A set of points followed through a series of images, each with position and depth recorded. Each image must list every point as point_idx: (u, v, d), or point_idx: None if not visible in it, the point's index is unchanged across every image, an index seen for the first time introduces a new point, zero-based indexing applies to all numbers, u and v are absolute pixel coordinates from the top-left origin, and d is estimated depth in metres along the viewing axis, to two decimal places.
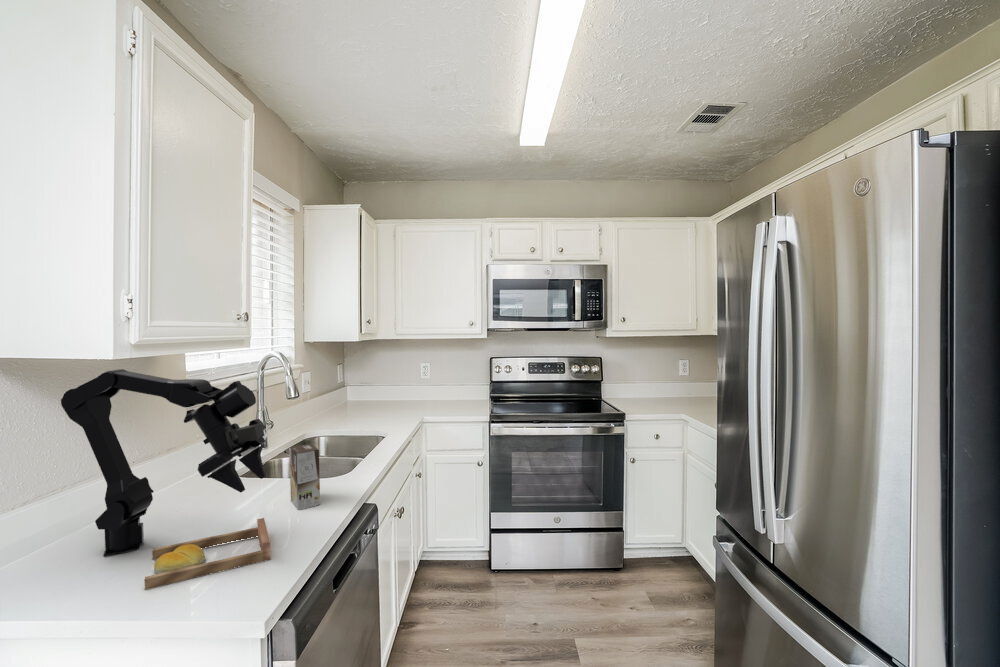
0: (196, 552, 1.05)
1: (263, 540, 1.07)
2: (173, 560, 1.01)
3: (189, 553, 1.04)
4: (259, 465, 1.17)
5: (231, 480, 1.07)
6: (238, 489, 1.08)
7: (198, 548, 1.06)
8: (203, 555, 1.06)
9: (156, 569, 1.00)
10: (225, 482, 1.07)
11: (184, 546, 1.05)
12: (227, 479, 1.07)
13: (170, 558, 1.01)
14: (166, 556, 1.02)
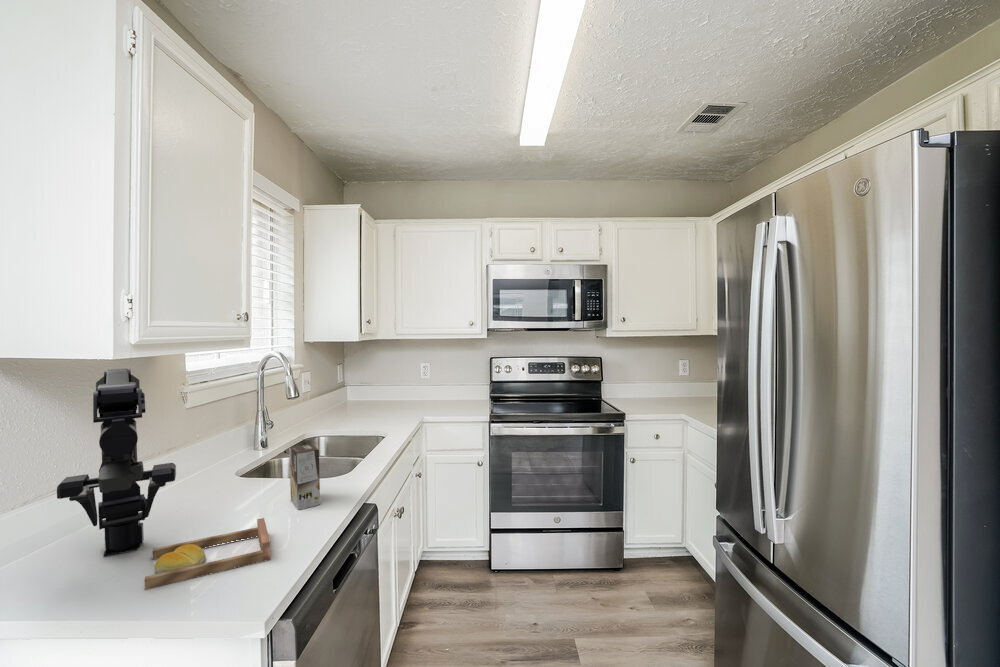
0: (197, 552, 1.05)
1: (263, 540, 1.07)
2: (173, 560, 1.01)
3: (189, 553, 1.04)
4: (147, 503, 1.01)
5: None
6: None
7: (198, 548, 1.06)
8: (203, 555, 1.06)
9: (156, 569, 1.00)
10: None
11: (184, 546, 1.05)
12: None
13: (170, 558, 1.01)
14: (167, 556, 1.02)
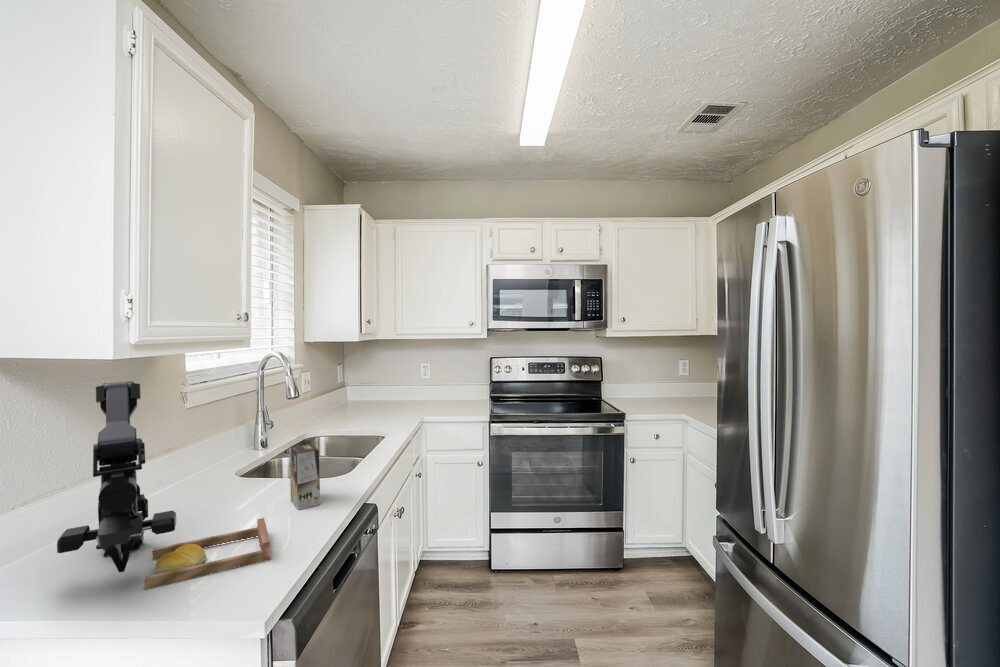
0: (197, 552, 1.05)
1: (263, 540, 1.07)
2: (174, 559, 1.01)
3: (190, 553, 1.04)
4: (123, 558, 0.99)
5: None
6: None
7: (199, 548, 1.06)
8: (204, 555, 1.06)
9: (157, 569, 1.00)
10: None
11: (185, 546, 1.05)
12: None
13: (171, 558, 1.01)
14: (167, 556, 1.02)
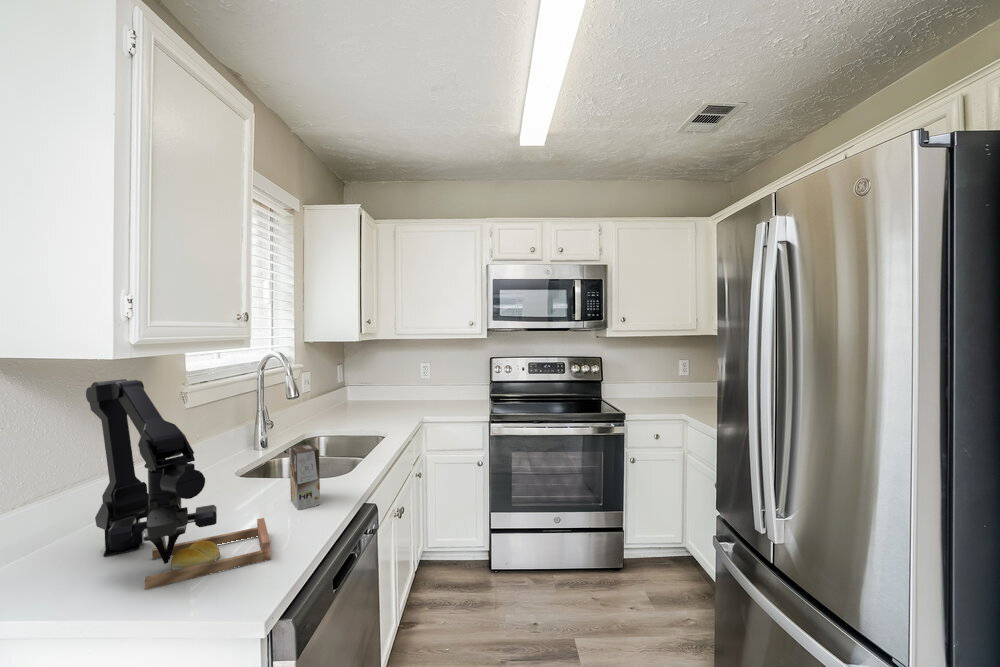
0: (212, 549, 1.06)
1: (263, 540, 1.07)
2: (189, 556, 1.02)
3: (204, 549, 1.05)
4: (167, 550, 1.02)
5: None
6: None
7: (213, 545, 1.07)
8: (218, 552, 1.07)
9: (172, 565, 1.02)
10: None
11: (200, 542, 1.07)
12: None
13: (186, 555, 1.02)
14: (182, 552, 1.03)
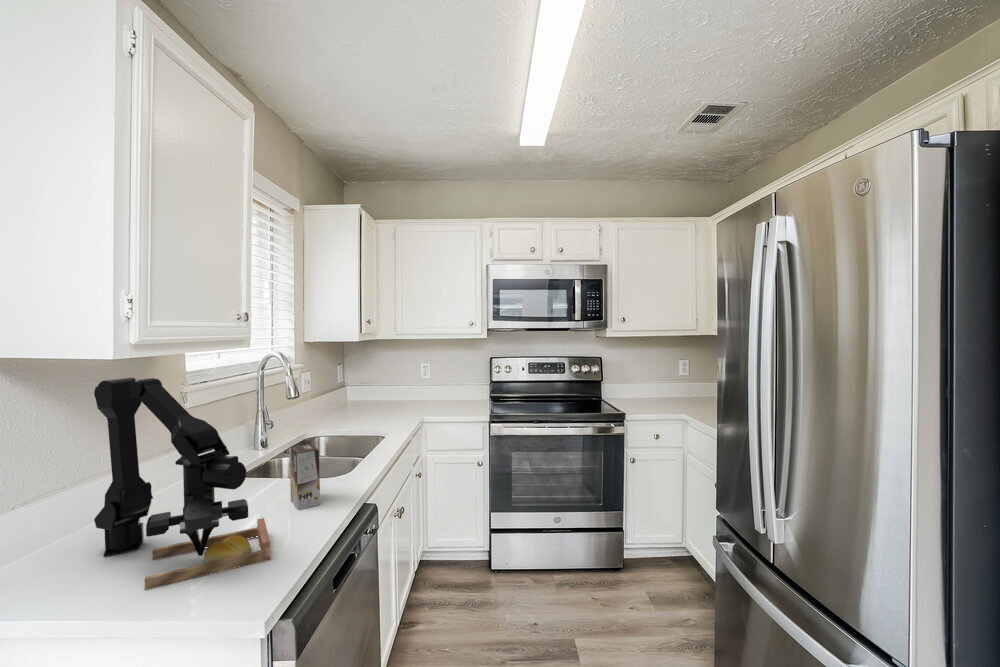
0: (242, 544, 1.08)
1: (263, 540, 1.07)
2: (220, 550, 1.05)
3: (235, 544, 1.08)
4: (202, 542, 1.06)
5: None
6: (197, 551, 1.06)
7: (244, 540, 1.10)
8: (249, 547, 1.09)
9: (205, 558, 1.05)
10: None
11: (232, 537, 1.10)
12: None
13: (217, 549, 1.05)
14: (215, 546, 1.06)
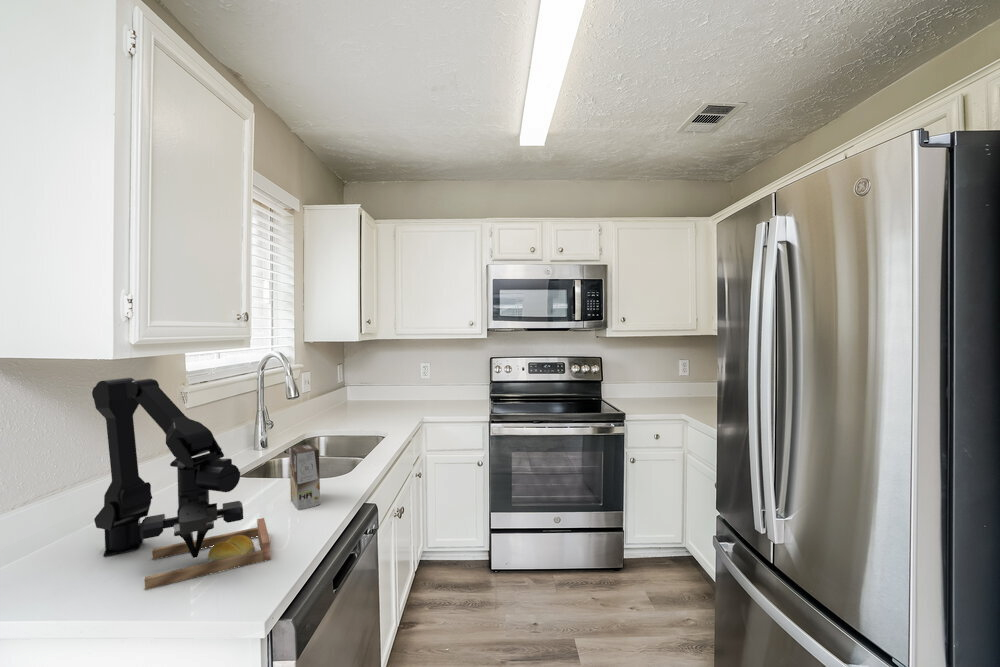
0: (246, 544, 1.08)
1: (263, 540, 1.07)
2: (224, 550, 1.05)
3: (239, 544, 1.08)
4: (196, 544, 1.05)
5: None
6: None
7: (248, 540, 1.10)
8: (252, 547, 1.09)
9: (209, 557, 1.05)
10: None
11: (236, 537, 1.10)
12: None
13: (221, 548, 1.05)
14: (218, 545, 1.06)
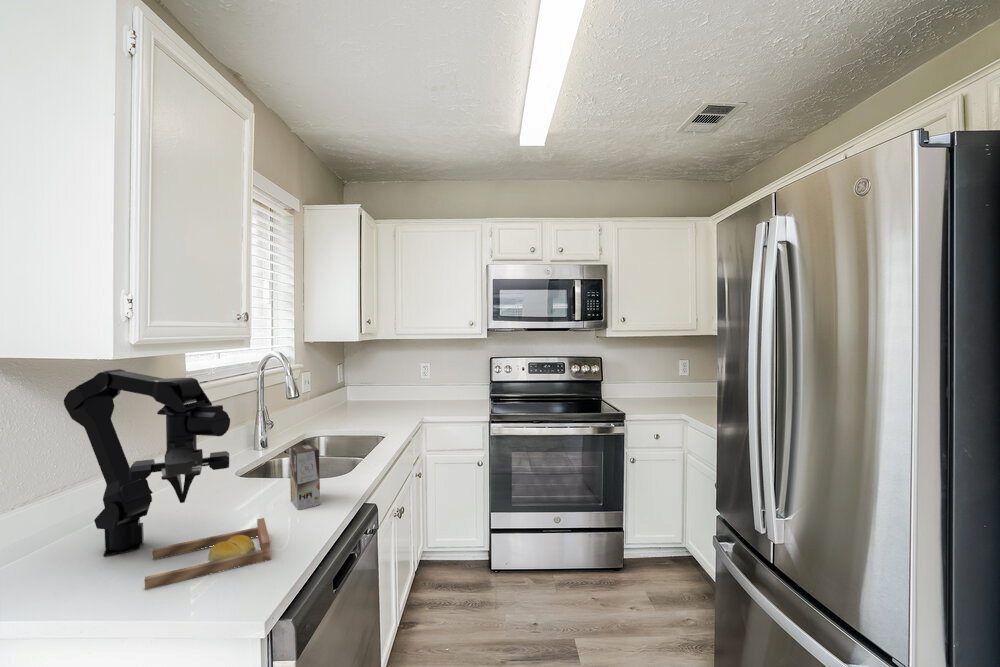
0: (246, 544, 1.08)
1: (263, 540, 1.07)
2: (224, 549, 1.05)
3: (239, 544, 1.08)
4: (184, 490, 1.09)
5: None
6: None
7: (249, 540, 1.10)
8: (253, 547, 1.09)
9: (209, 557, 1.05)
10: None
11: (236, 537, 1.10)
12: None
13: (222, 548, 1.05)
14: (219, 545, 1.06)
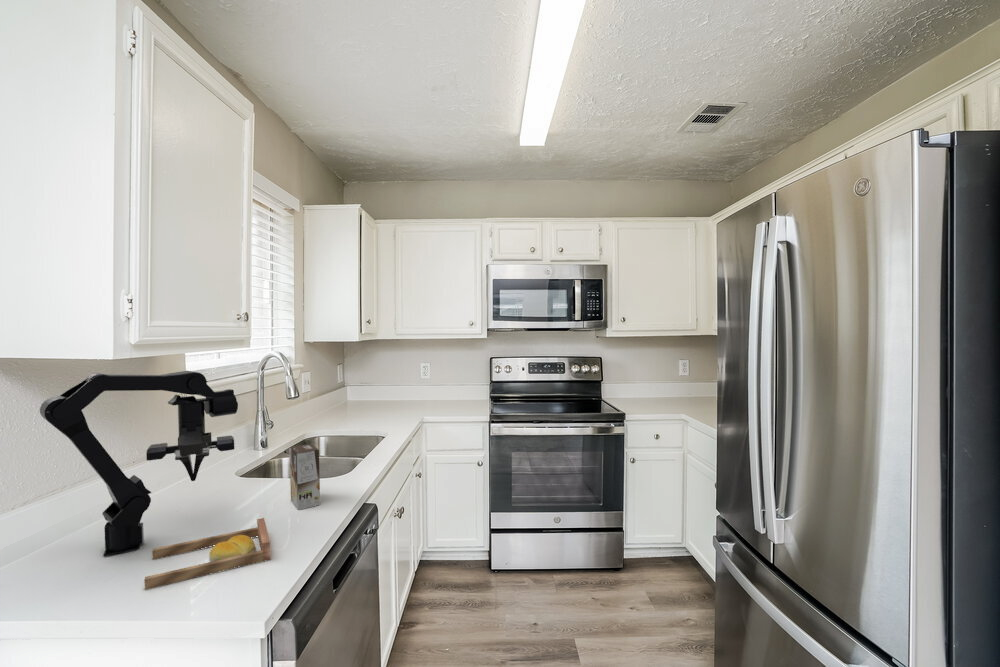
0: (247, 544, 1.08)
1: (263, 540, 1.07)
2: (225, 549, 1.05)
3: (240, 544, 1.08)
4: (194, 469, 1.23)
5: None
6: (190, 477, 1.24)
7: (249, 540, 1.10)
8: (253, 547, 1.09)
9: (210, 557, 1.05)
10: None
11: (237, 537, 1.10)
12: None
13: (222, 548, 1.06)
14: (220, 545, 1.06)
